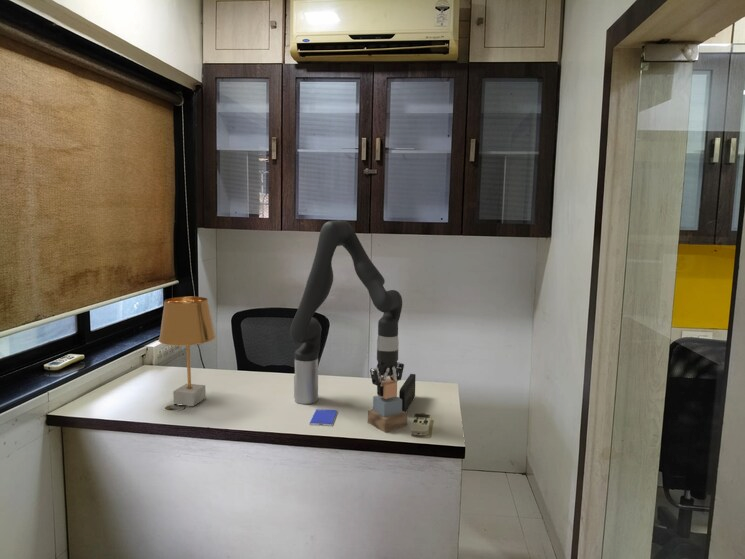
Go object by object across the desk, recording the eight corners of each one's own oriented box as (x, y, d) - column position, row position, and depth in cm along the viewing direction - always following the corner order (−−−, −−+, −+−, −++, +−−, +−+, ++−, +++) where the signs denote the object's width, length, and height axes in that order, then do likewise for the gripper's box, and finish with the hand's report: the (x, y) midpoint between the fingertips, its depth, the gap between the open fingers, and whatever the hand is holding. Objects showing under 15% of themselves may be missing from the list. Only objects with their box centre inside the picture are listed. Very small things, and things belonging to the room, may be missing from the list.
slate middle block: (372, 409, 185) (373, 396, 184) (390, 406, 189) (390, 393, 188) (384, 417, 179) (384, 403, 178) (401, 413, 182) (402, 399, 182)
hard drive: (315, 408, 195) (309, 422, 182) (337, 409, 194) (332, 423, 182) (315, 412, 195) (309, 426, 182) (337, 413, 194) (332, 427, 182)
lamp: (181, 390, 215) (177, 294, 209) (227, 394, 210) (224, 296, 205) (149, 409, 194) (144, 303, 189) (200, 414, 190) (196, 306, 185)
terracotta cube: (377, 394, 183) (377, 381, 182) (387, 391, 186) (388, 378, 185) (385, 398, 179) (386, 385, 178) (396, 395, 182) (397, 382, 181)
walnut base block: (367, 423, 185) (367, 410, 184) (389, 417, 191) (389, 404, 190) (385, 433, 177) (385, 419, 177) (406, 426, 183) (407, 412, 183)
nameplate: (403, 416, 191) (404, 390, 190) (398, 415, 192) (399, 390, 191) (415, 397, 211) (415, 373, 210) (410, 396, 212) (411, 373, 211)
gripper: (396, 342, 187) (395, 387, 189) (364, 348, 178) (364, 395, 181) (410, 346, 181) (409, 393, 184) (378, 353, 173) (377, 401, 175)
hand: (386, 393), depth 182 cm, fingers closed on terracotta cube, 5 cm apart
